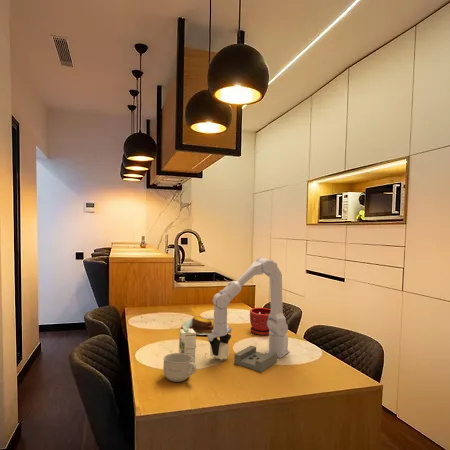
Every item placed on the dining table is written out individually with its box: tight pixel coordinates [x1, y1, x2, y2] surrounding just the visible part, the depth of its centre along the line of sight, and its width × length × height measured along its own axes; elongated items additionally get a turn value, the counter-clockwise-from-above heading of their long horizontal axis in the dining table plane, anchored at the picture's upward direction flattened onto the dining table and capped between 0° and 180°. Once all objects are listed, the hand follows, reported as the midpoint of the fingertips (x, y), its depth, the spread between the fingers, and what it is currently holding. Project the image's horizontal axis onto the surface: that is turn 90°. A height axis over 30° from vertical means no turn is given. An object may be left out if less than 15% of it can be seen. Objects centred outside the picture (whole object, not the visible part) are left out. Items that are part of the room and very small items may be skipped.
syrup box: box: [178, 328, 197, 369], centre depth 136 cm, size 6×6×14 cm
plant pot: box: [249, 307, 271, 336], centre depth 181 cm, size 13×13×12 cm
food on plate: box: [181, 316, 230, 336], centre depth 185 cm, size 26×26×7 cm
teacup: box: [163, 352, 197, 383], centre depth 125 cm, size 14×11×8 cm
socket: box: [233, 345, 278, 373], centre depth 141 cm, size 13×13×4 cm
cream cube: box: [209, 342, 230, 362], centre depth 144 cm, size 5×6×6 cm
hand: (219, 353), depth 144 cm, fingers closed on cream cube, 5 cm apart
